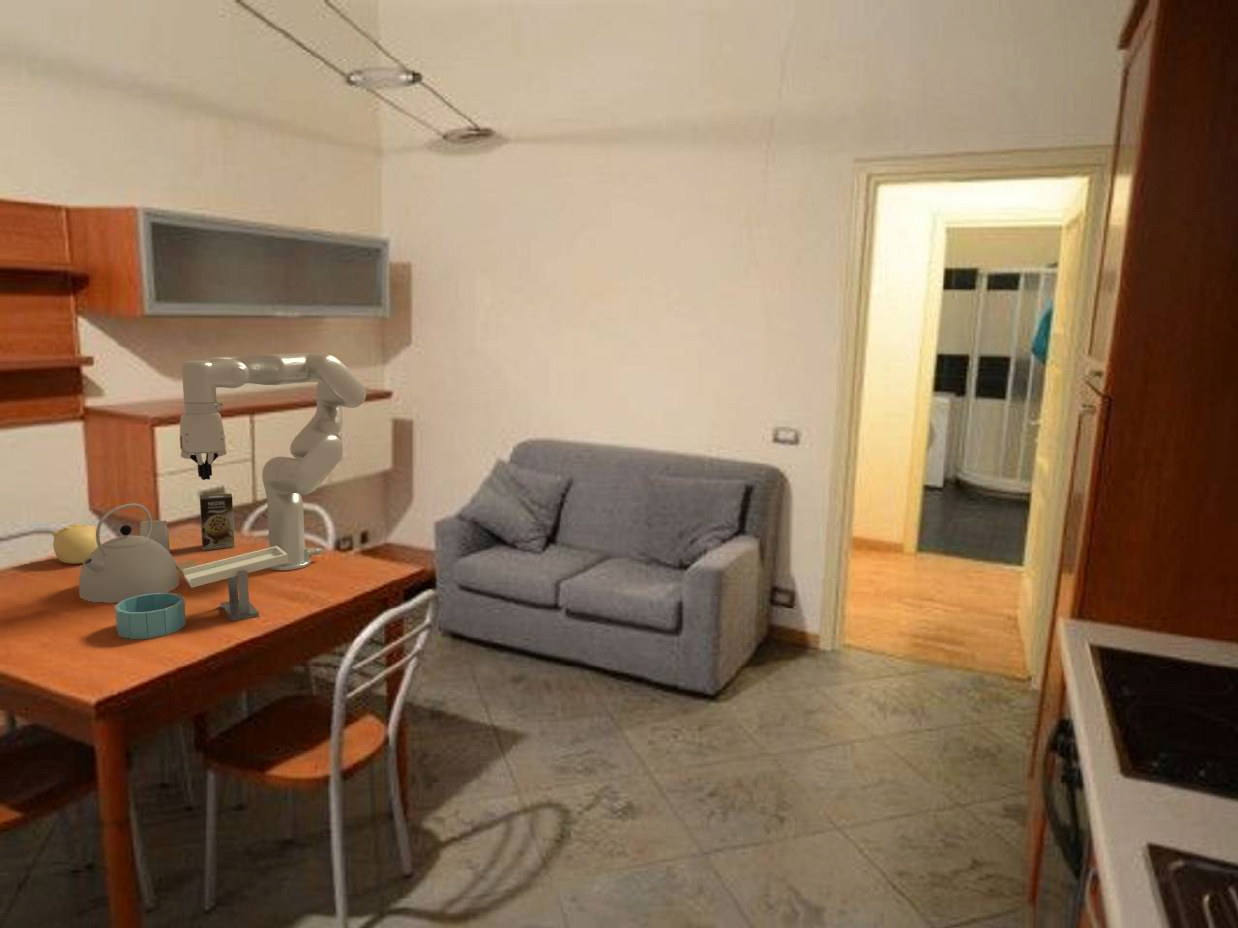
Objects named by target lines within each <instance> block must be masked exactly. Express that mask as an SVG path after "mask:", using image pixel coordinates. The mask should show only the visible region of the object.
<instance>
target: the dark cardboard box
mask: <svg viewBox="0 0 1238 928" xmlns="http://www.w3.org/2000/svg"><path fill="white" fill-rule="evenodd" d="M233 503H234V502H233V494H232V493H217V494H202V495H201V494H200V495H199V507H200V508H199V509H200V527H201V529H200V530H201V531H200V532H201V546H202V547H201V548H202V551H208V550H209V551H210V550H219V549H220V550H221V548H222V549H231V548H235V546H236V545H235V526H234V525H235V524H234V507H233V505H234V504H233Z"/></svg>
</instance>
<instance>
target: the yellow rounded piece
mask: <svg viewBox="0 0 1238 928" xmlns="http://www.w3.org/2000/svg"><path fill="white" fill-rule="evenodd" d="M96 529H97V526H95V525H89V524H78V523H74V524H70V525H68V526H67V527H62V528H60V529H58V530H55V531H53V532H52V536H53V541H52V543H53V544H52V547H53V550H54V554H55V557H57V559H58V561H60V562H61V563H65V564H83V562H84V561H85V560H86V559H87V558H88V556H89V555H90V554H91V553H92V552H93V551H94V550H95V549H96V548H98V545H97V542H96ZM100 542H101V545H102V544H103V542H102V539H101V538H100Z"/></svg>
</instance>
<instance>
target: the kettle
mask: <svg viewBox="0 0 1238 928" xmlns="http://www.w3.org/2000/svg"><path fill="white" fill-rule="evenodd" d="M129 507H131V508H132V507H136V508H138V509H139V508H140V509H141V510H142V511H143V512H144V513H145V514H146V516H147V517H146V519H147V521H148V524H149V525H148V531H147V534H146V537H143V536H140V535H130V534H131V533H132V532H133V531H132V530H133V529H132V527H131V526H130V525H128V524H123V525H122V526H121V527H120V528H119V533H120V534H121V535H122V536H118V537H113V538H111V539H108V540H106V541H105V542H102V541H101V542H100V539H101V536H100V534H101V528H102V526H103V523H104V522H105V520H106V519H107V518H108V517H109V516H111V515H112V514H114V513H115V512H117V511H120V510H122V509H125V508H129ZM98 521H99V522H98V523H97V526H96V527H97V529H96V542H97V545H98V548H96V549H95V550H94V551H93V552H92V553H91V554H90V555H89V556H88V558H87V559H86V560H85V561H84V562H83V563H82V567H81V569H80V572H79V577H78V578H79V579H78V587H79V588H78V589H79V591H78V592H79V594H78V595H79V598H81V599H82V600H83V599H84V601H86V600H87V602H90V601H92V603H97V602H104V603H103V604H115V603H114V602H121V601H122V600H125V599H129V598H132V597H135V596H139V595H145V594H151V593H170V592H171V590H172V591H173V590H175V589H177V587H179V585H180V578H179V571H178V569H177V568H176V565H175V564H177V563H176V560H175V559H174V557H173V555H172V554H171V553H170V551H168V550H167V549H166V548H165V547H163V546H162V545H161V544H159V543H157V542H156V541H154V540H151V539H149V536H150V533H151V529H152V521H153V520H152V516H151V514H150V511H149V510H148V509H147V508H146V507H145V506H144V505H143V504H142V505H141V504H140V503H127V504H123V505H119V506H117V507H114V508H112V509H111V510H109V511H107V512H106V513H105V514H104V515H103V516H102V517H101V518H100V520H98ZM101 543H102V545H101ZM169 591H170V592H169ZM105 602H107V603H105Z"/></svg>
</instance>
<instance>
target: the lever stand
mask: <svg viewBox="0 0 1238 928" xmlns="http://www.w3.org/2000/svg"><path fill="white" fill-rule="evenodd" d="M248 579H249V577H248V573H247V571H242V572H238V576H234V577H230V578H227V586H228V601H222V602H219V604H220V605H219V606H220V608H221V610H222V611H223V612H224V613H225V614H226V615H227V616H228V618H229V619H230V620H231V621H232V622H236V620H237V621H242V620H246V619H253V618H257V617H260V612H259V611H258V610H257V609H256V607H255V606H254V605H253V604H252V603H251V602H250V596H249V595H250V594H249V580H248Z"/></svg>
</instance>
